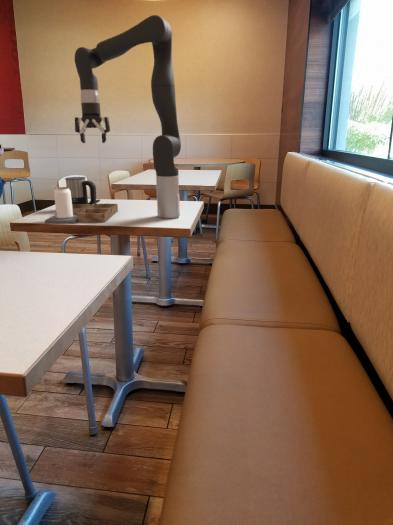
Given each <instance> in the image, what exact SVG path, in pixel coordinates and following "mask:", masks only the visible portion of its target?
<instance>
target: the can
mask: <svg viewBox="0 0 393 525" xmlns="http://www.w3.org/2000/svg"><path fill="white" fill-rule="evenodd" d="M53 195H54V204H55V212H56V214H57V217H58V218H59V219H67V218H72V217H73V209H72V199H71V191H70V190H69V187H66V186H59V187H54V192H53ZM56 214H55V215H56Z"/></svg>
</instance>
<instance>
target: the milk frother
mask: <svg viewBox="0 0 393 525" xmlns="http://www.w3.org/2000/svg"><path fill="white" fill-rule="evenodd" d="M64 180H65V184H66V185H65V187H69V190H70V191H71V199H72V204H90V205H92V204H99V203H100V201H101V199H97V186H96V183H94V182H93V181H91V180H86V176H70V177H69V176H68V177H65V178H64ZM87 186H88V187H89V193H90V194H89V195H90V200H89V198H88V190H87V188H88V187H87Z"/></svg>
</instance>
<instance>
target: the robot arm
mask: <svg viewBox="0 0 393 525" xmlns="http://www.w3.org/2000/svg"><path fill="white" fill-rule="evenodd" d="M147 43H151V46H152V52H153V68H152V74H151V78H150V88H151V98H152V104H153V107H154V109H155V112H156V113H157V115H158V118H159V121H160V125H161V126H160V127H161V134H160V135H158V136H157V137H155V139H154V140H153V143H152V157H153V158H152V159H153V160H152V161H153V168H154V171H155V175H156V176H155V177H156V178H155V179H156V180H155V181H156V204H157V205H156V206H157V208H156V209H157V217H158V218H159V219H177V218H178V219H179V218H180V216H181V215H180V214H181V212H180V210H181V208H180V206H181V205H180V192H179V191H180V189H179V188H180V187H179V186H180V184H179V168H178V167H177V166H175V160H174V158H176V157H177V156H179V154H180V152H181V148H182V144H181V137H180V130H179V125H178V116H177V115H178V114H177V103H176V102H177V100H176V88H175V87H176V86H175V77H174V76H175V75H174V67H173V66H174V65H173V31H172V27H171V25H170V23H169V22H168V21H167V20H166V19H164V18H163V17H162V16H160V15H158V14H152V15H150V16H148V17H145V19H142V21H140V22H139V23H137V24H135V25H134V26H132V27H130V28H129V29H127V30H125V31H123V32H121V33H118V34H117V35H114V36H112V37H109V38H106V39H104V40H102V41H100V42H98V43H97V44H96V45H95V47H94V48H90V49H89V48H87V47H83V46H81V47H78V48H77V49H76V50H75V52H74V64H75V67H76V72H77V75H78V78H79V85H80V86H79V87H80V104H81V105H80V106H81V117H78V116H76V117H74V131H75V133H78V134H79V135H80V142H81V144H86V134H85V132H86V130H87V129H98V130H99V131H100V132H101V142H102V144H105V143H106V142H107V134H108V133H109V132H111V126H110V118H109V117H108V116H104V117H102V115H101V102H100V94H99V85H98V84H99V83H98V77H97V76H96V75H95V74H94V71H93V69H97V68H99V67H100V66H102V65H103V64H105V63H106V62H108V61H111V60H113V59H117V58H119V57H121V56H123V55H125V54H126V53H127V52H129V51H130V50H131V49H133V48H135V47H137V46H139V45H143V44H147ZM102 121H103V123H104V126H105V127H103V126H102V124H101V123H102ZM81 122H82V123H83V125H82V127H81ZM104 128H105V129H104Z"/></svg>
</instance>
